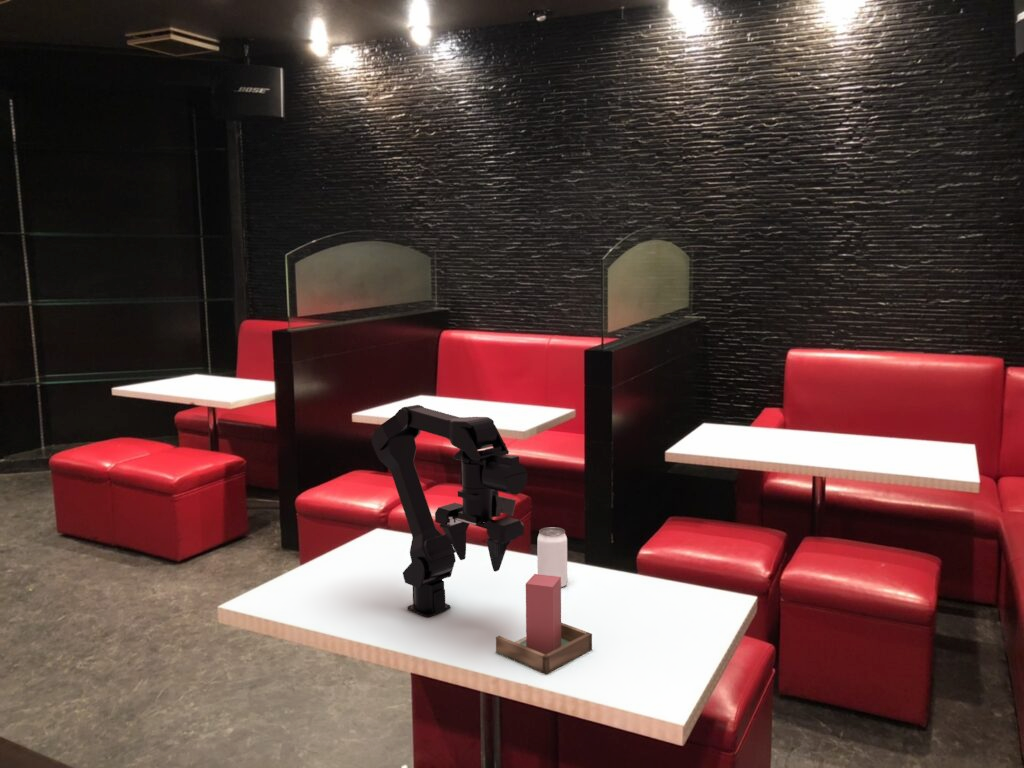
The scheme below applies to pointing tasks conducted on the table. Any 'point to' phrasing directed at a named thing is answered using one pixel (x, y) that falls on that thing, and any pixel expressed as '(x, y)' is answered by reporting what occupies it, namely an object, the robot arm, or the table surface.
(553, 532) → the can
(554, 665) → the box
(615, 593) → the table surface
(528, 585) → the post
